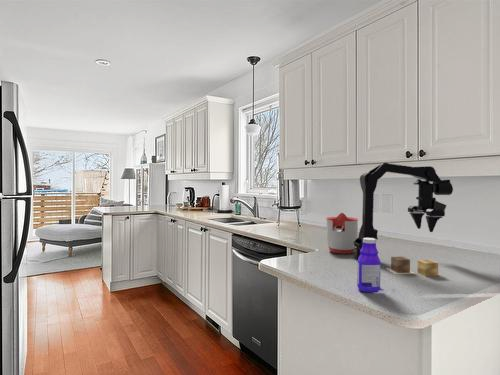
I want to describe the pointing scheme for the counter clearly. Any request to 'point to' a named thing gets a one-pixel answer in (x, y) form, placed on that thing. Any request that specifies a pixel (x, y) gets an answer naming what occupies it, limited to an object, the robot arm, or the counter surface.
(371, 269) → the bottle
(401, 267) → the walnut block
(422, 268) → the ochre block
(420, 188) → the robot arm
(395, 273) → the board
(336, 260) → the counter surface
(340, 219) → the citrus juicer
